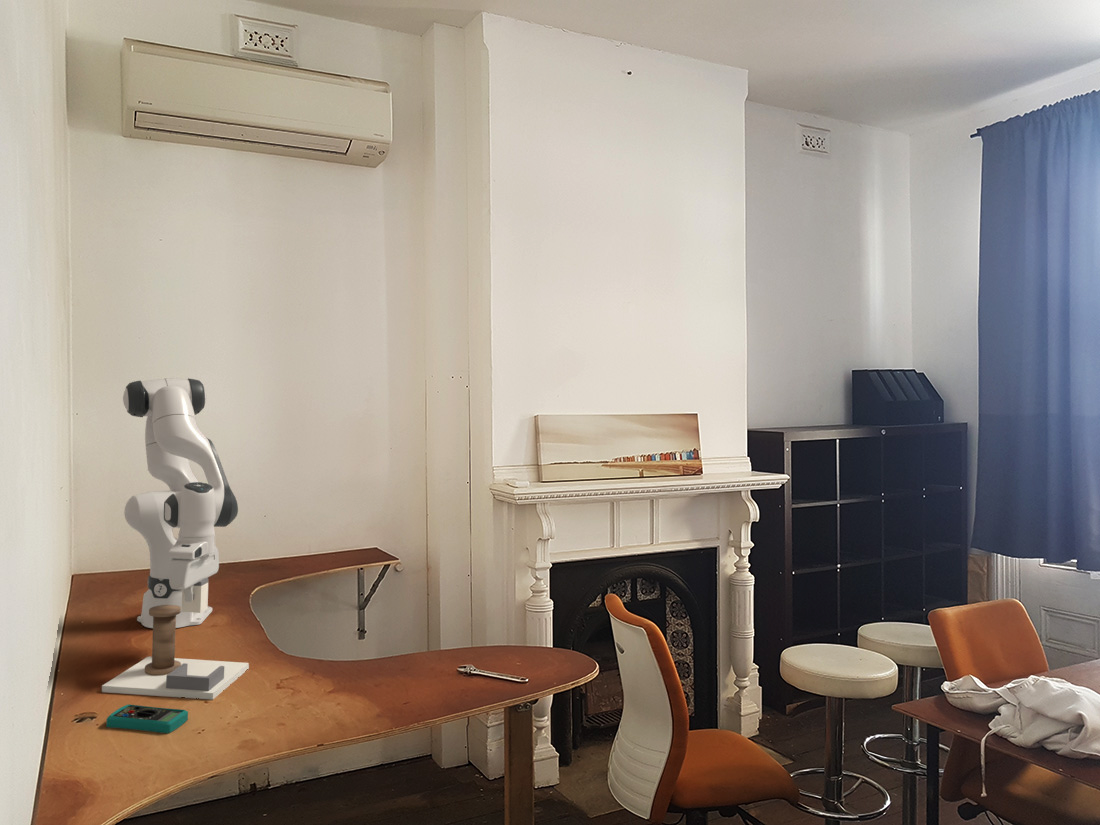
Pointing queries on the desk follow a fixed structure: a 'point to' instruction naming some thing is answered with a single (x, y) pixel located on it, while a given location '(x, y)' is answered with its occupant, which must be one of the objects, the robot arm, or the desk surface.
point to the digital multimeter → (147, 718)
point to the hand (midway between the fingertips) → (194, 598)
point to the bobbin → (163, 640)
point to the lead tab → (197, 598)
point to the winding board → (178, 679)
